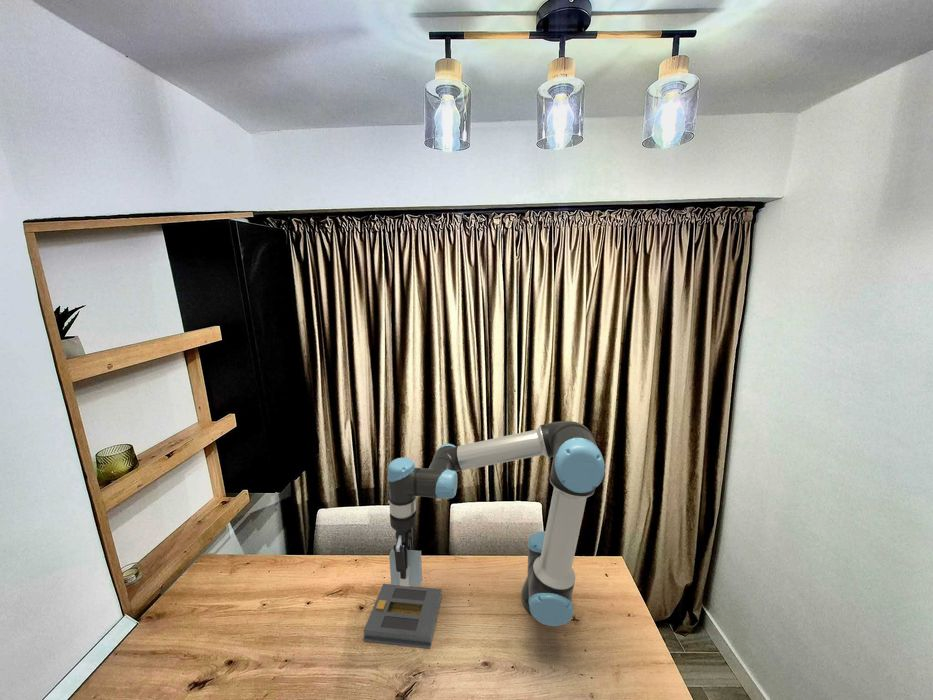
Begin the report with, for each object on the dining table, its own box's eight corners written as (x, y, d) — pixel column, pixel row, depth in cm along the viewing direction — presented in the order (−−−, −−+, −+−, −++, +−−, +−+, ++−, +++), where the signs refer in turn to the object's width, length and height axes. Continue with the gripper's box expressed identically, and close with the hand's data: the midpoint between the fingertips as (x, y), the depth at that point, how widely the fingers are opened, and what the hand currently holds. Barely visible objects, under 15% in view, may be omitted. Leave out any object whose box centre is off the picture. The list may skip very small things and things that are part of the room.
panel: (422, 579, 112) (421, 550, 110) (420, 586, 109) (419, 557, 107) (393, 577, 112) (391, 548, 111) (391, 583, 110) (389, 554, 108)
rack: (442, 595, 123) (441, 585, 122) (430, 648, 105) (429, 637, 105) (384, 590, 125) (383, 580, 125) (363, 641, 108) (362, 630, 107)
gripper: (398, 494, 114) (401, 560, 119) (381, 528, 99) (385, 602, 104) (421, 496, 113) (423, 562, 118) (408, 530, 98) (411, 604, 103)
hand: (406, 580), depth 111 cm, fingers closed on panel, 2 cm apart
